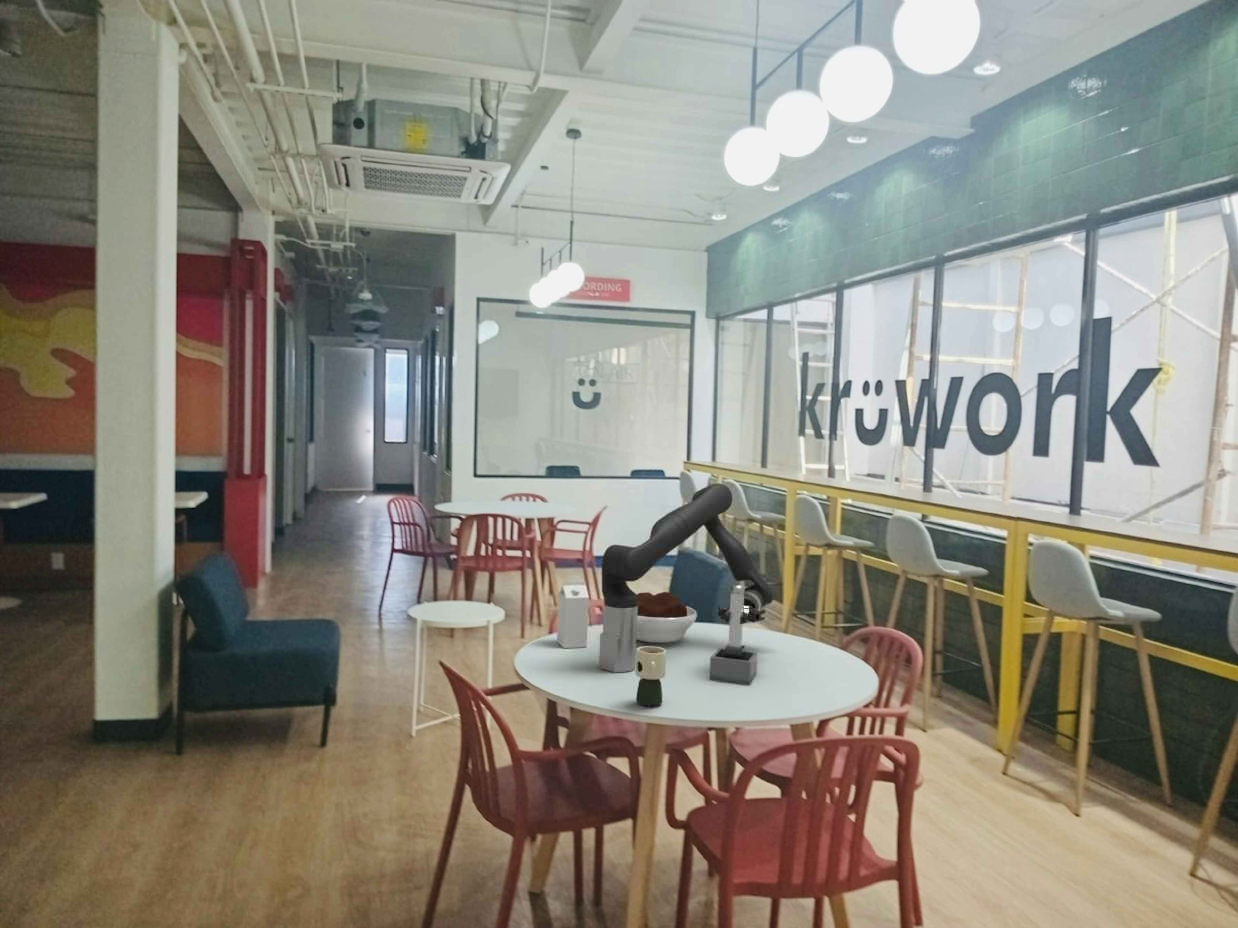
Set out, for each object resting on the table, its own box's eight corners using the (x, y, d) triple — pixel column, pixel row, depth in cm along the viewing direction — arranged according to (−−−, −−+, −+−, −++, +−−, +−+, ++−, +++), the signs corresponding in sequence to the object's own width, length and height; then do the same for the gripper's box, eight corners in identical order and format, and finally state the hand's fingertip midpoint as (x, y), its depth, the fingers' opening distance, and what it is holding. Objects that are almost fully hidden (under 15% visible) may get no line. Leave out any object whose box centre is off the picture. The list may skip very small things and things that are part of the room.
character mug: (632, 696, 210) (634, 643, 210) (661, 697, 210) (664, 644, 210) (635, 710, 199) (638, 655, 199) (666, 711, 200) (669, 655, 199)
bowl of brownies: (655, 654, 251) (657, 602, 250) (598, 636, 269) (600, 588, 268) (712, 643, 267) (714, 594, 267) (655, 627, 286) (657, 581, 285)
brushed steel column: (741, 661, 228) (744, 587, 227) (724, 659, 229) (727, 586, 228) (744, 656, 233) (748, 584, 232) (727, 654, 234) (731, 582, 233)
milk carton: (556, 642, 259) (559, 579, 258) (579, 641, 262) (582, 579, 261) (563, 648, 252) (566, 584, 252) (586, 647, 255) (589, 583, 254)
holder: (749, 684, 224) (750, 661, 224) (709, 679, 227) (710, 656, 227) (756, 674, 234) (757, 652, 234) (717, 669, 238) (718, 647, 237)
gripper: (721, 591, 246) (708, 602, 230) (771, 596, 241) (761, 608, 225) (720, 617, 246) (707, 630, 230) (770, 622, 242) (760, 636, 225)
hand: (734, 619), depth 228 cm, fingers closed on brushed steel column, 3 cm apart
